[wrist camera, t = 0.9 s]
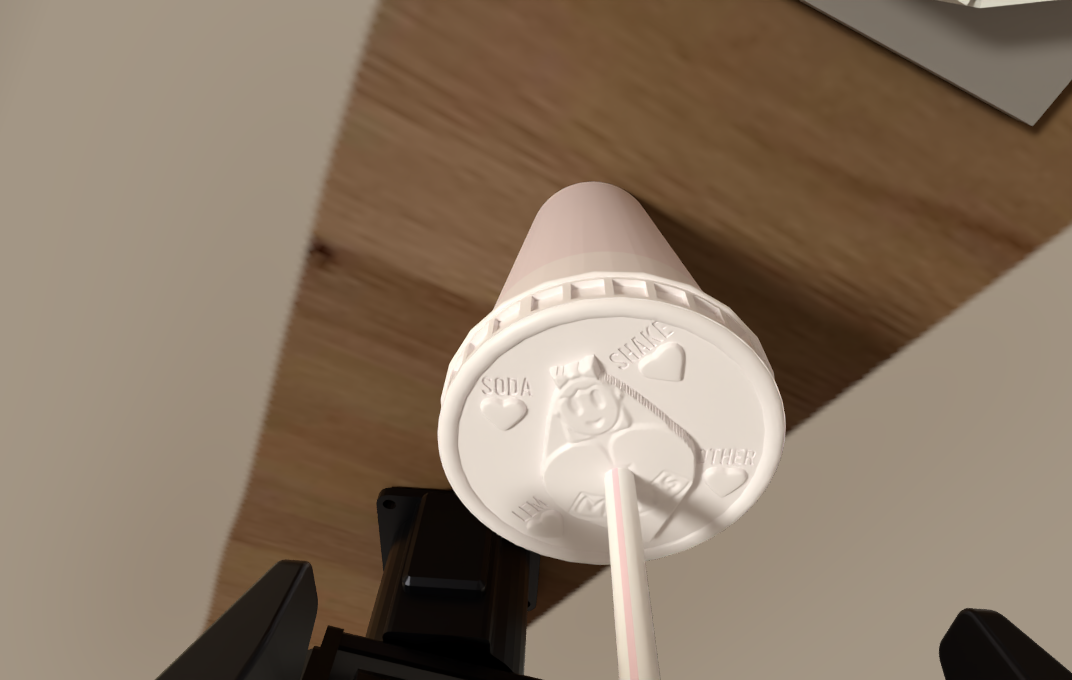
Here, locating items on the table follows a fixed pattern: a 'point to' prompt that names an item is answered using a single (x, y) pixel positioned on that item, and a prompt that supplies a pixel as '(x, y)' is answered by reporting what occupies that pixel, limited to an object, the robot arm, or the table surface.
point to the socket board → (974, 44)
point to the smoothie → (609, 405)
